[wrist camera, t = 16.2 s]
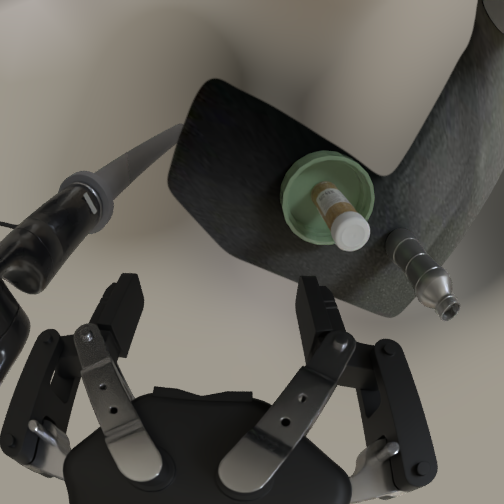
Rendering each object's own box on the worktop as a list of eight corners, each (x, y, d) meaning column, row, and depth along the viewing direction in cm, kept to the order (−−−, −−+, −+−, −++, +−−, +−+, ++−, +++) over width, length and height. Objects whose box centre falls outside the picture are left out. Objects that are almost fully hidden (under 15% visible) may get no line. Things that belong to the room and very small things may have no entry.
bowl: (276, 231, 46) (279, 244, 43) (282, 146, 38) (286, 152, 35) (356, 233, 47) (364, 245, 43) (370, 155, 39) (381, 161, 36)
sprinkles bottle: (314, 210, 43) (338, 257, 32) (307, 184, 41) (331, 224, 30) (340, 202, 43) (372, 246, 31) (335, 176, 40) (369, 213, 29)
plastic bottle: (384, 259, 50) (432, 335, 33) (378, 231, 46) (433, 307, 30) (412, 246, 48) (465, 316, 31) (407, 218, 45) (469, 286, 28)
